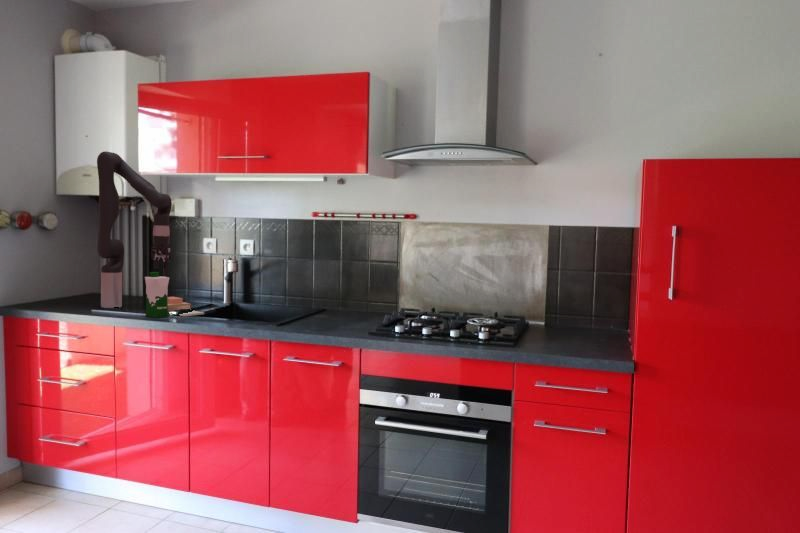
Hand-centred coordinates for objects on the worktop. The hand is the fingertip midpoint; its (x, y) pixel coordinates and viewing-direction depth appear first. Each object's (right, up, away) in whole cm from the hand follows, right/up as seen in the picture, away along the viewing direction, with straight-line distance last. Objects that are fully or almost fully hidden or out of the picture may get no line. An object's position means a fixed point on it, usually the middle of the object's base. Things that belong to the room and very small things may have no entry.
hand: (161, 268), depth 321 cm
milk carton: (+6, -22, -21) cm, 31 cm away
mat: (+16, -21, -11) cm, 29 cm away
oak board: (+7, -20, -4) cm, 22 cm away
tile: (+7, -16, -5) cm, 18 cm away
